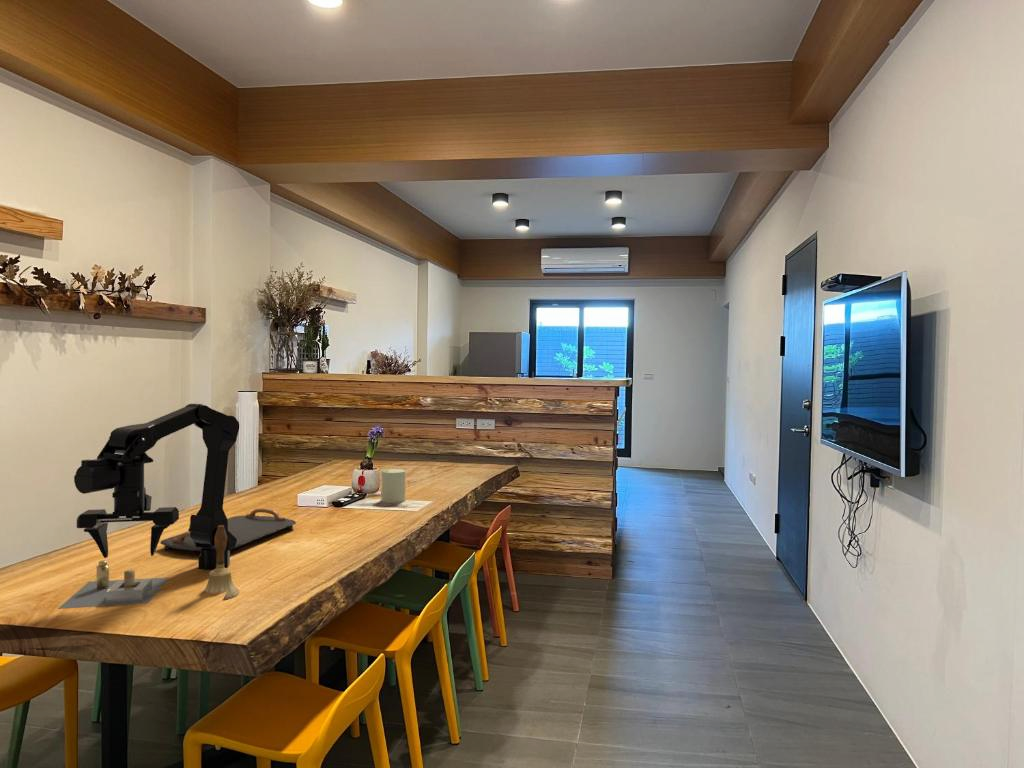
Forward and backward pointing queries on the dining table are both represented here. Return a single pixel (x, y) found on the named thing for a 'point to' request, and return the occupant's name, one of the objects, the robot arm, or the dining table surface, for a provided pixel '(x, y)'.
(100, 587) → the brass knobbed cylinder
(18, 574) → the dining table surface
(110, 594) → the square hole block
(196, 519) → the robot arm
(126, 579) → the stand rod
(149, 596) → the board
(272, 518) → the serving board
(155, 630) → the dining table surface
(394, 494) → the can
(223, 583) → the hand bell
